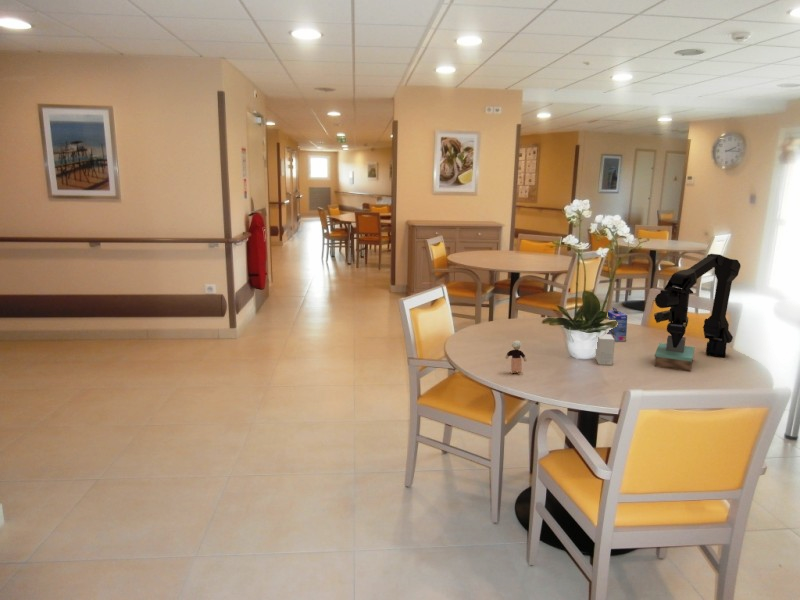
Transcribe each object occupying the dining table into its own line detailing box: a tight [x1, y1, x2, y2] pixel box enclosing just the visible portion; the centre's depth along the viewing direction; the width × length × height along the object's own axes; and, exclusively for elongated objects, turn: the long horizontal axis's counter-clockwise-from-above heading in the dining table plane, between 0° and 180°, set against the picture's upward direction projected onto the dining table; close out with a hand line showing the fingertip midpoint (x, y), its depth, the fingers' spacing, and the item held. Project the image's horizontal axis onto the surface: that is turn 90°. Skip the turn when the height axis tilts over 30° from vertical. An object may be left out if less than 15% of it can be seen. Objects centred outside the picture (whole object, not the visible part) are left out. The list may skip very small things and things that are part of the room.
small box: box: [594, 333, 615, 366], centre depth 209 cm, size 8×6×10 cm
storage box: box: [654, 357, 693, 372], centre depth 208 cm, size 12×16×4 cm
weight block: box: [666, 334, 687, 353], centre depth 207 cm, size 6×5×5 cm
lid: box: [654, 342, 695, 363], centre depth 207 cm, size 13×16×1 cm
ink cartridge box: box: [607, 307, 628, 342], centre depth 241 cm, size 10×6×14 cm, turn 5°
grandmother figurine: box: [504, 340, 527, 375], centre depth 197 cm, size 8×4×13 cm, turn 80°
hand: (675, 344), depth 207 cm, fingers open, 9 cm apart
